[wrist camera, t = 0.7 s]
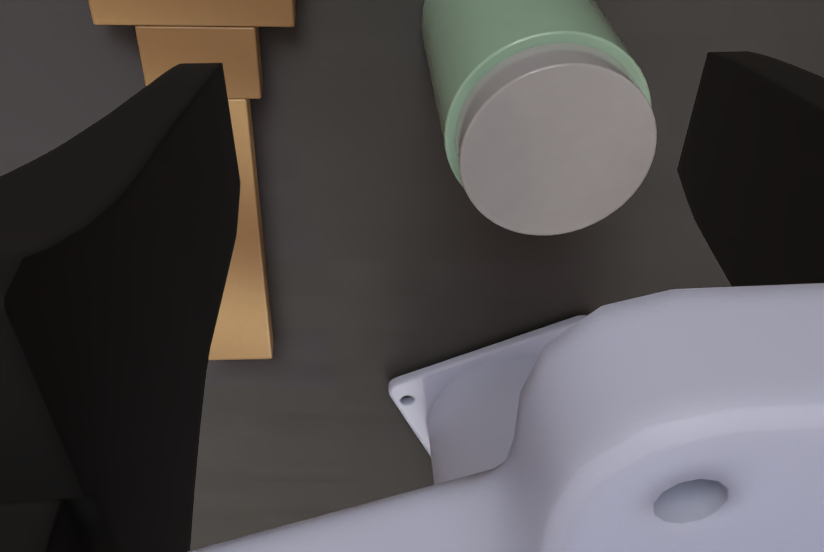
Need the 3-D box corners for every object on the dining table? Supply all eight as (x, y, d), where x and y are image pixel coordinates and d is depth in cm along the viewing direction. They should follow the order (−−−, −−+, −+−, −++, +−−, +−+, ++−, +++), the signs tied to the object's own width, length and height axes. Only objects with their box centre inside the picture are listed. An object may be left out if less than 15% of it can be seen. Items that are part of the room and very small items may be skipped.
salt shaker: (600, 58, 22) (684, 200, 17) (454, 117, 23) (490, 270, 18) (558, -95, 19) (643, 15, 14) (395, -22, 20) (415, 108, 15)
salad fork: (313, 342, 28) (312, 358, 28) (170, 345, 28) (167, 361, 27) (282, -258, 17) (279, -254, 16) (40, -268, 17) (28, -264, 16)
